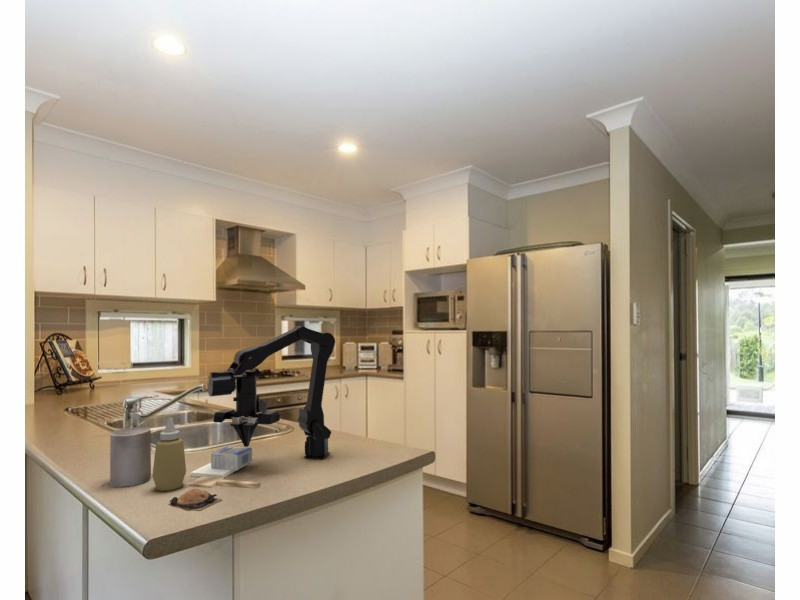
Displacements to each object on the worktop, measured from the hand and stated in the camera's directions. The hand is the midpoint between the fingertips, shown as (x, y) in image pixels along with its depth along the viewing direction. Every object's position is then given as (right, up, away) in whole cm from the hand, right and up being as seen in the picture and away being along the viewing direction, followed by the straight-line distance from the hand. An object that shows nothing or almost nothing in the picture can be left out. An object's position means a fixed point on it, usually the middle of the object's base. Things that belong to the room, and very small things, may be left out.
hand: (246, 446), depth 137 cm
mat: (-7, -7, +1) cm, 10 cm away
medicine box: (0, -4, 0) cm, 4 cm away
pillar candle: (-29, -7, -9) cm, 31 cm away
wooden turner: (-1, -6, -13) cm, 14 cm away
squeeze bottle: (-16, -7, -14) cm, 22 cm away
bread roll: (-4, -7, -25) cm, 26 cm away
